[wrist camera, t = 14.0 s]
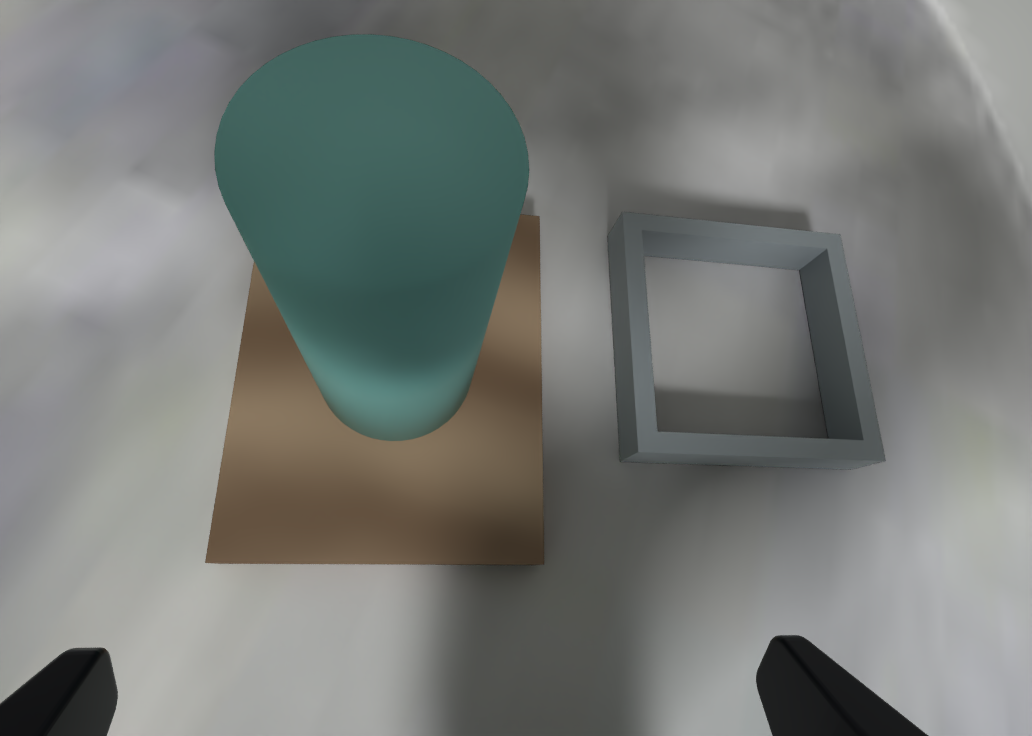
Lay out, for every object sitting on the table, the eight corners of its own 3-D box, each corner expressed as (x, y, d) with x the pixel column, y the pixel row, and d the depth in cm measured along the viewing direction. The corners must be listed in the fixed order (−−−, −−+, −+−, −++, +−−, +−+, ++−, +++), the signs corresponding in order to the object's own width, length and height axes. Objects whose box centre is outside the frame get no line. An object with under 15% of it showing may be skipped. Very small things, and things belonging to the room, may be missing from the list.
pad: (536, 564, 22) (544, 564, 21) (216, 563, 20) (205, 562, 19) (533, 231, 27) (539, 216, 25) (272, 206, 25) (265, 188, 24)
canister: (469, 444, 22) (528, 303, 11) (308, 437, 21) (186, 276, 10) (474, 303, 24) (529, 55, 12) (327, 291, 23) (242, 15, 12)
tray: (850, 469, 25) (886, 461, 24) (620, 461, 24) (638, 451, 22) (812, 256, 29) (840, 234, 27) (607, 236, 27) (622, 211, 25)
